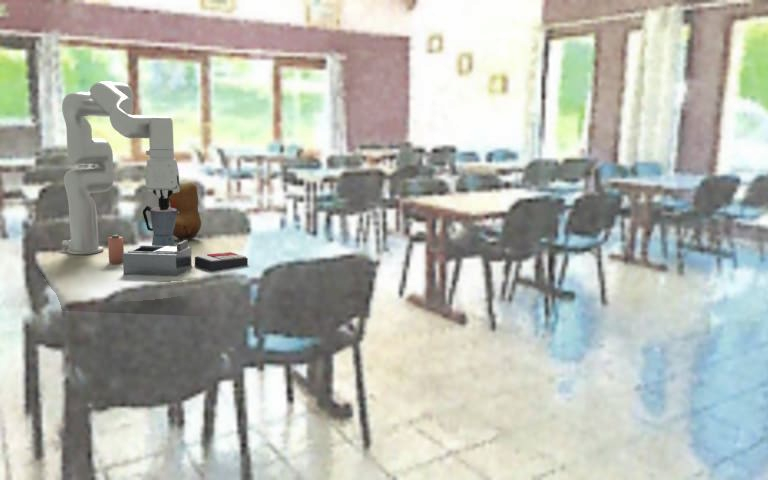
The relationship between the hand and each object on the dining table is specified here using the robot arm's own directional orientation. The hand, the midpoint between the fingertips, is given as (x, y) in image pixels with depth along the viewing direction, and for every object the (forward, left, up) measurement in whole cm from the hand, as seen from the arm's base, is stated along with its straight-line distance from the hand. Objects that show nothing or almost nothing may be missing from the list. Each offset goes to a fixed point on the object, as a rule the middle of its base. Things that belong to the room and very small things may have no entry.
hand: (164, 209), depth 224 cm
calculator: (+16, +10, -22) cm, 29 cm away
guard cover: (+3, 0, -14) cm, 14 cm away
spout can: (-22, +9, -21) cm, 31 cm away
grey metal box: (-3, 0, -21) cm, 21 cm away
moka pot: (-12, +25, -21) cm, 35 cm away
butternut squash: (-14, +55, -21) cm, 60 cm away
